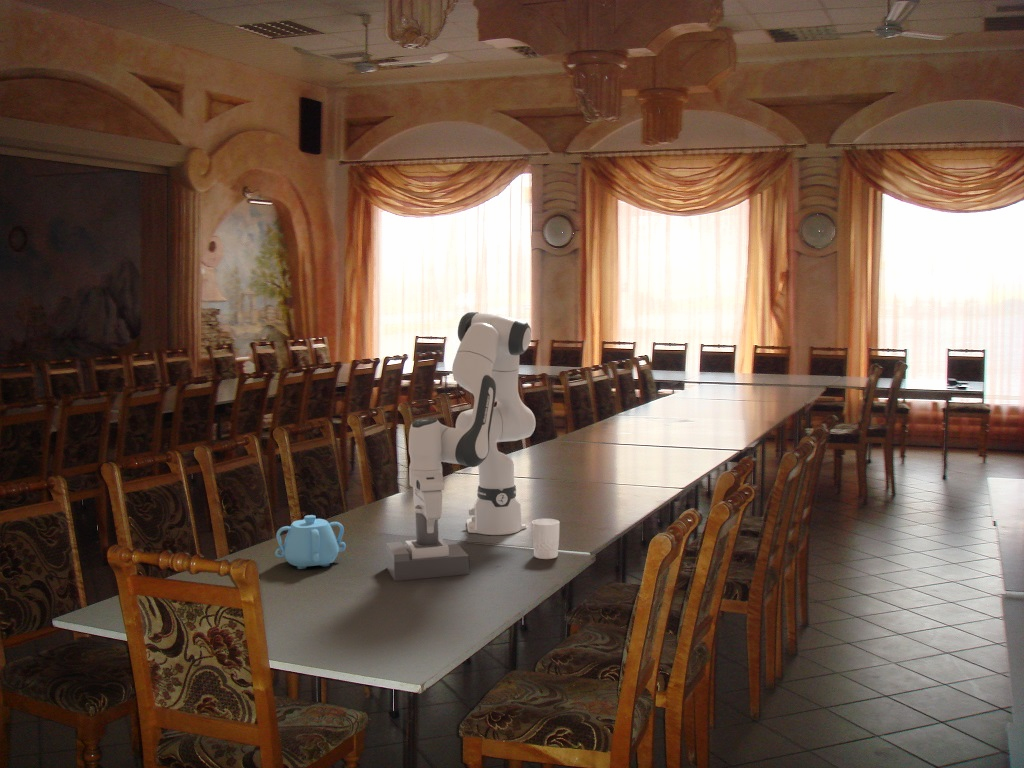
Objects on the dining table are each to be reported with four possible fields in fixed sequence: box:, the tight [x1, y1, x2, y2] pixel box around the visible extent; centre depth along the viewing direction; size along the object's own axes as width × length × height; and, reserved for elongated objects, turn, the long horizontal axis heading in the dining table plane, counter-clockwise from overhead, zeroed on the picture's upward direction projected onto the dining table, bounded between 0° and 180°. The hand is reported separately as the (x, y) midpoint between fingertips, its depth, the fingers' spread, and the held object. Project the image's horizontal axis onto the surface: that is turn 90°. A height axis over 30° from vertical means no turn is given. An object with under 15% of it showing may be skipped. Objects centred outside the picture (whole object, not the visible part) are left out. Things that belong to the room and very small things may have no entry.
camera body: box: [385, 537, 470, 582], centre depth 275 cm, size 13×20×8 cm, turn 106°
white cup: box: [531, 518, 561, 560], centre depth 288 cm, size 8×8×10 cm
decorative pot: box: [274, 514, 347, 570], centre depth 283 cm, size 16×16×14 cm
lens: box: [414, 505, 440, 546], centre depth 274 cm, size 6×6×10 cm
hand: (427, 529), depth 274 cm, fingers closed on lens, 6 cm apart
